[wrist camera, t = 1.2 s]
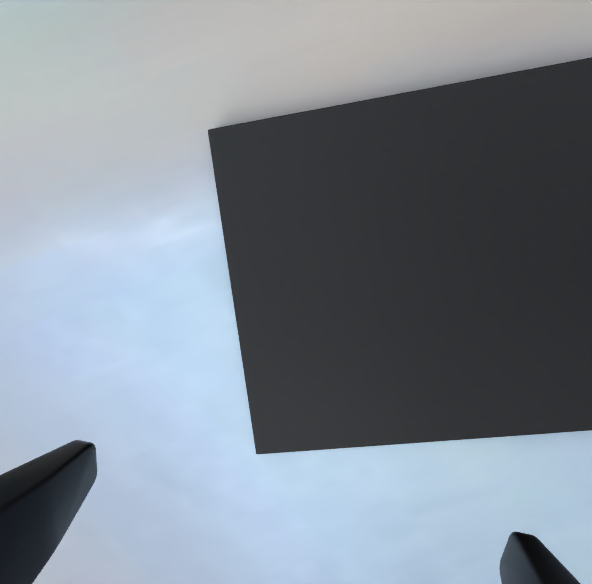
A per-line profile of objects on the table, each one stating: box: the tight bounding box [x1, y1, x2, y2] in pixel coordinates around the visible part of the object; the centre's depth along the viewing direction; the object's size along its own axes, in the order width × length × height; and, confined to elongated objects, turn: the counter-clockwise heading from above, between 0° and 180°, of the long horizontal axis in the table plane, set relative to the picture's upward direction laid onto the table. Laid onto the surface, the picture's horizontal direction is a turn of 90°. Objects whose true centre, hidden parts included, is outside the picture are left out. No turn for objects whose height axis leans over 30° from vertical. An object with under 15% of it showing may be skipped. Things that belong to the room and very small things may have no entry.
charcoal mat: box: [208, 58, 592, 454], centre depth 22 cm, size 18×20×1 cm
